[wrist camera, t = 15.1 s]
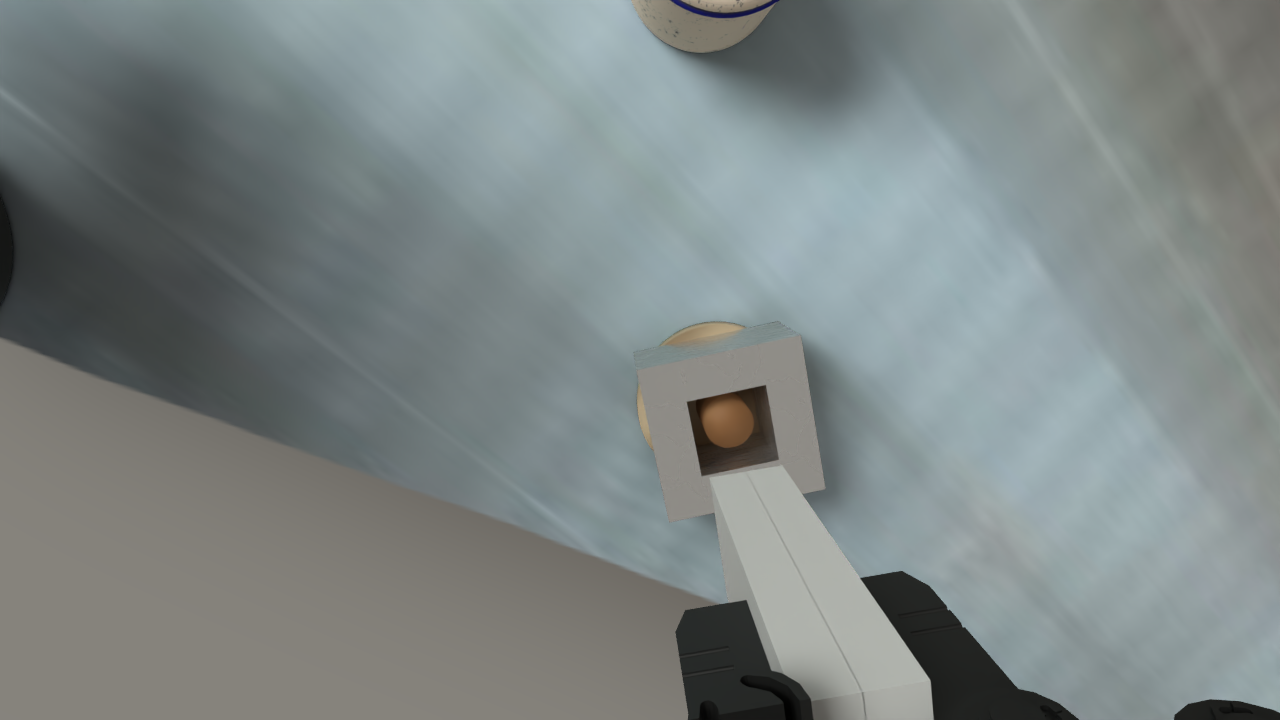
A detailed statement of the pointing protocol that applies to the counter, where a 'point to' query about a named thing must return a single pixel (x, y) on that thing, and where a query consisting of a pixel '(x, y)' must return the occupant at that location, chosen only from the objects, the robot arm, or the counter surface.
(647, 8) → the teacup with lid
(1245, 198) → the counter surface
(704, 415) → the hub
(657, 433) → the white boxy piece
